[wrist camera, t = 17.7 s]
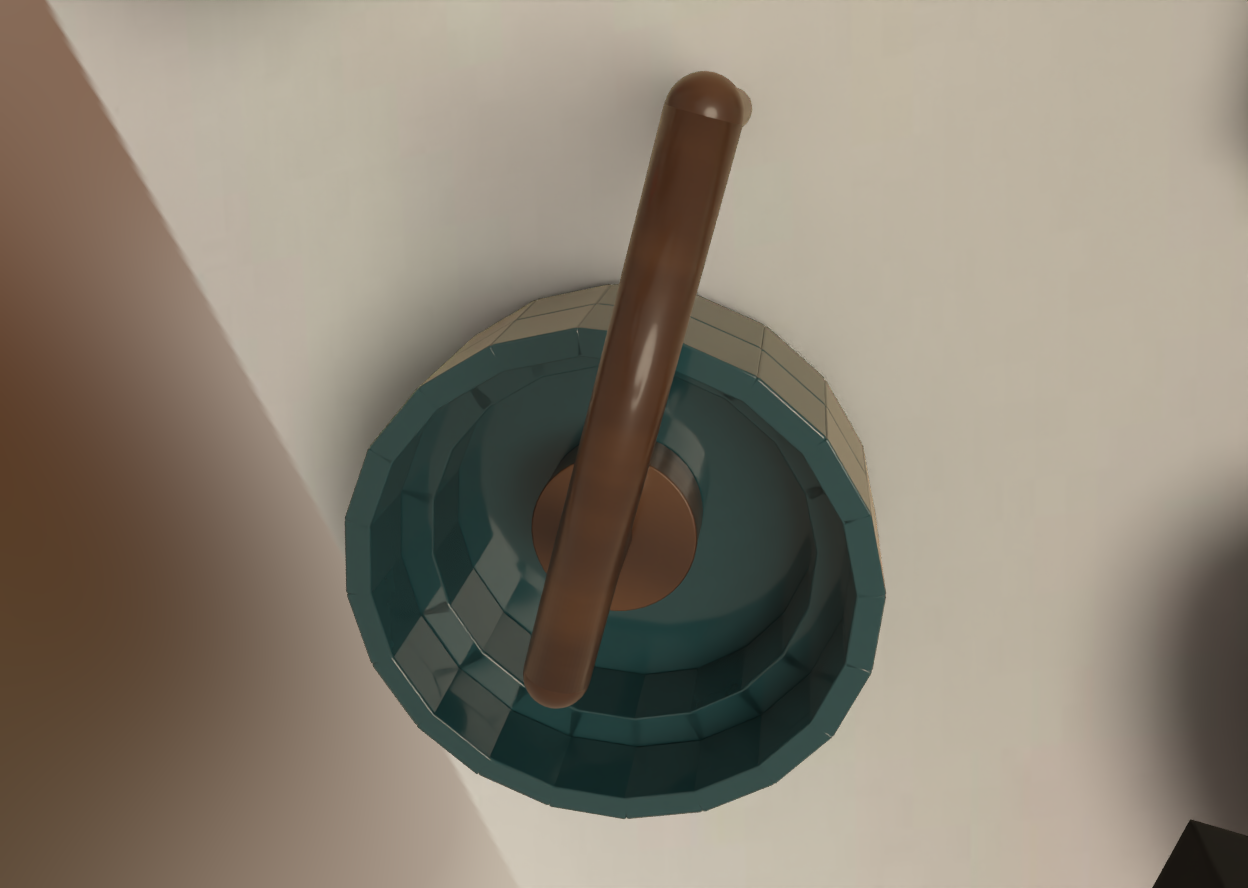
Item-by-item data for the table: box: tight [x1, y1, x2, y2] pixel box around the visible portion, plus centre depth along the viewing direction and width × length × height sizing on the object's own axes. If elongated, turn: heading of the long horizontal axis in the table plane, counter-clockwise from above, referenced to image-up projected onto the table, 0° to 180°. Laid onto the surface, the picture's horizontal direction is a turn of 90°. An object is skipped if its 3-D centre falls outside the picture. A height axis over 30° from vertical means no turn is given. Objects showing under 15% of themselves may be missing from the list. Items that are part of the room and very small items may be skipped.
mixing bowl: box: [345, 284, 886, 819], centre depth 34 cm, size 16×16×6 cm
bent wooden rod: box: [523, 71, 752, 709], centre depth 29 cm, size 16×5×12 cm, turn 166°
